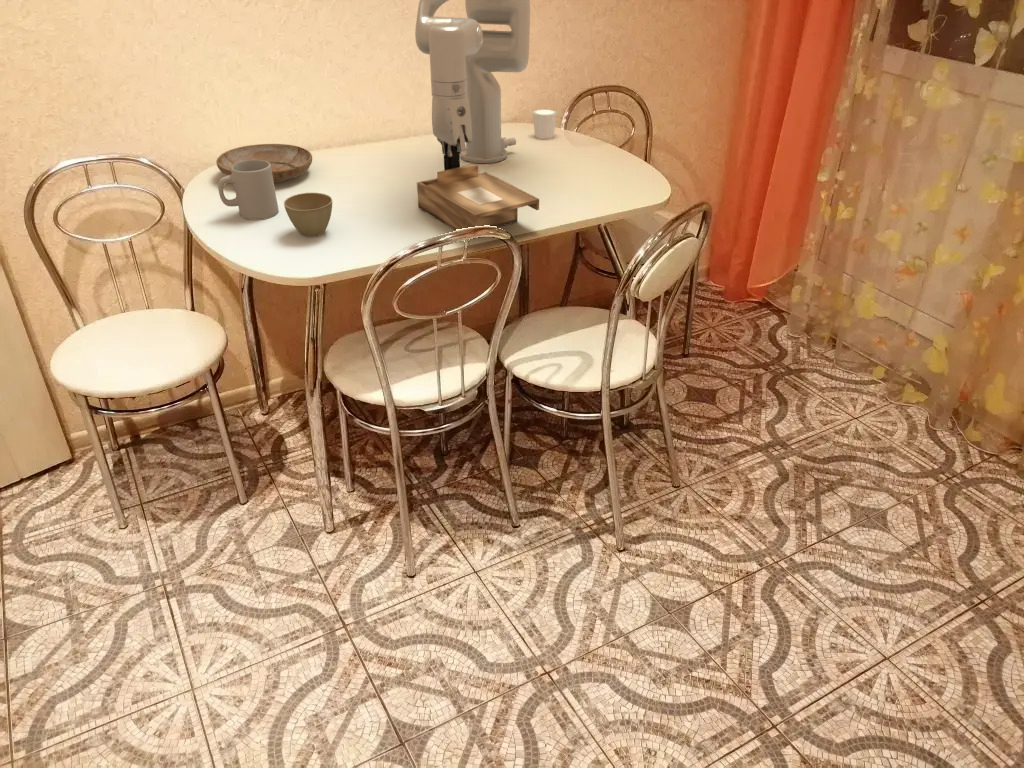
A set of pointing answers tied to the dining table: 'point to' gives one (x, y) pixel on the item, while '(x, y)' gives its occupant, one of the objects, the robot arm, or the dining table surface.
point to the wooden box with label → (476, 193)
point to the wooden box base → (456, 221)
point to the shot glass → (544, 123)
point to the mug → (251, 189)
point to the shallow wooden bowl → (269, 159)
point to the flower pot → (309, 212)
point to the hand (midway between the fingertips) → (452, 172)
